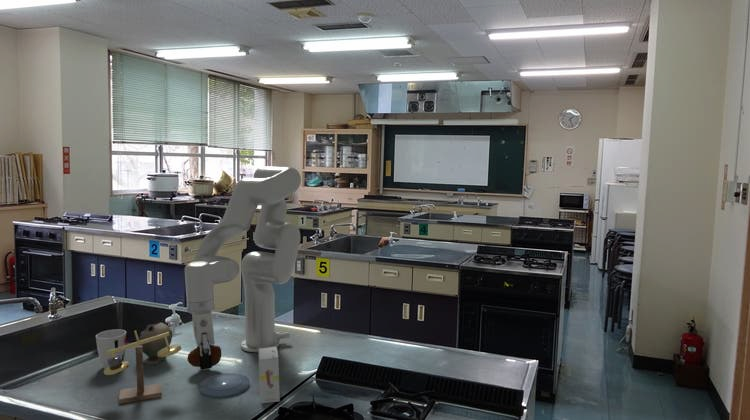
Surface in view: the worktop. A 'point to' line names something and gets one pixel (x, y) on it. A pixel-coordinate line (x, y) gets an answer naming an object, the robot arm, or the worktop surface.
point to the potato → (194, 355)
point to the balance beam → (116, 362)
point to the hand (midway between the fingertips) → (204, 362)
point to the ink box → (269, 375)
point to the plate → (224, 385)
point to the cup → (110, 344)
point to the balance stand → (140, 384)
